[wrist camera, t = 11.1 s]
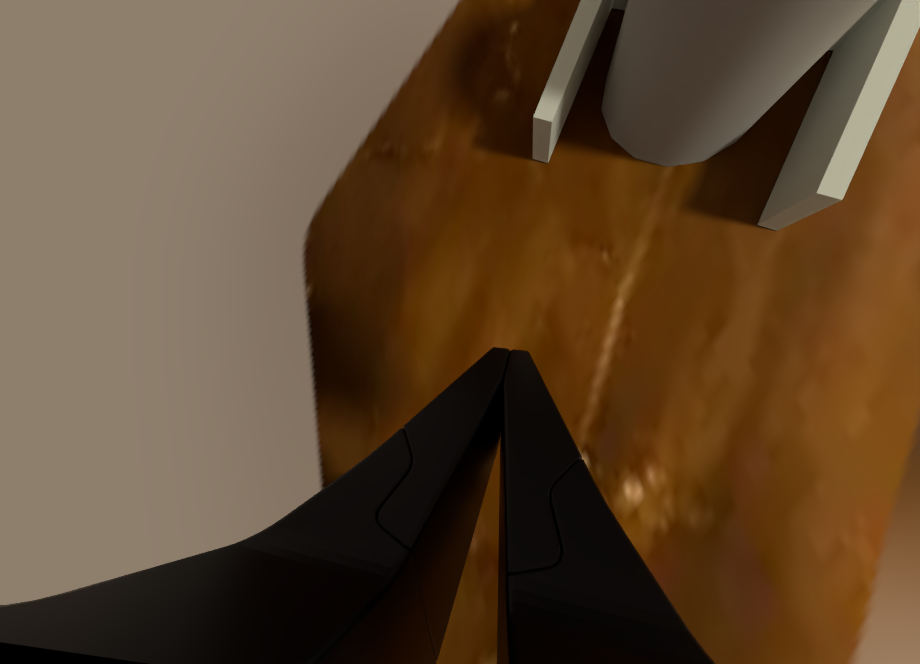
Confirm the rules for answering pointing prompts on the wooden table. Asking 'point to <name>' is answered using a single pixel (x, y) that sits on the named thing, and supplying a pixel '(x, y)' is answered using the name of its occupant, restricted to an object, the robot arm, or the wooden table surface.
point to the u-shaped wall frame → (824, 126)
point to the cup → (711, 69)
